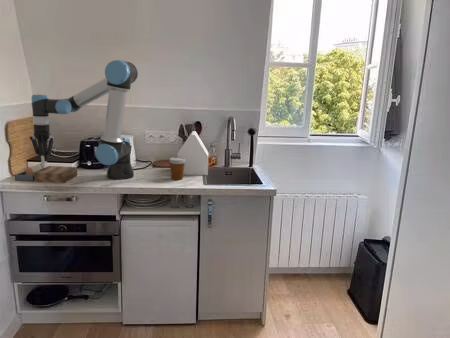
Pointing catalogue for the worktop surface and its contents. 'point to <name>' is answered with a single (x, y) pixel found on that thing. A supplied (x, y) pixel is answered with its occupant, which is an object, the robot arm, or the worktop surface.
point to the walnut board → (55, 174)
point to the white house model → (194, 156)
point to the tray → (24, 177)
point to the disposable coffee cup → (177, 167)
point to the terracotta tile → (29, 171)
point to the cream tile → (37, 167)
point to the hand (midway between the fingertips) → (44, 166)
